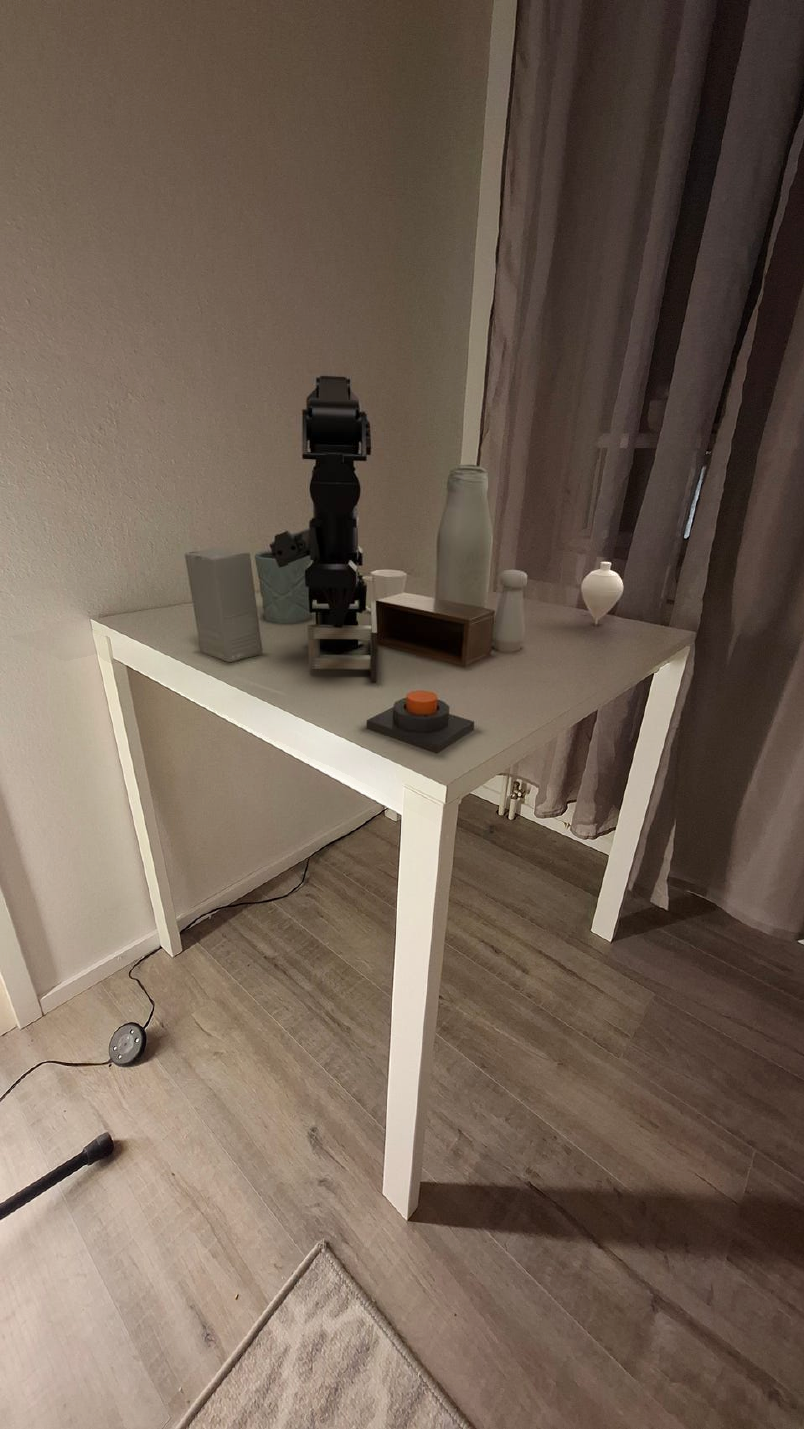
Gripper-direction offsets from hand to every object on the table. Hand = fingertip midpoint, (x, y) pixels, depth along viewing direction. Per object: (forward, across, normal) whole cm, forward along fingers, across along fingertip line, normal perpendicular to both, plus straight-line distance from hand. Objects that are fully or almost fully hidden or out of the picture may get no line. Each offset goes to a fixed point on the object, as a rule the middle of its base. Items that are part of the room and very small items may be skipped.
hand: (338, 626), depth 85 cm
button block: (+8, +17, +11) cm, 22 cm away
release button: (+5, +17, +11) cm, 21 cm away
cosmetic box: (+7, -9, -18) cm, 22 cm away
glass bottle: (+8, -34, +20) cm, 40 cm away
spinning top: (+8, -33, +47) cm, 58 cm away
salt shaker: (+8, -16, +27) cm, 32 cm away
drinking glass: (+7, -31, -13) cm, 35 cm away
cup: (+7, -37, +5) cm, 38 cm away
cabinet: (+8, -14, +14) cm, 21 cm away
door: (+7, -6, 0) cm, 10 cm away
